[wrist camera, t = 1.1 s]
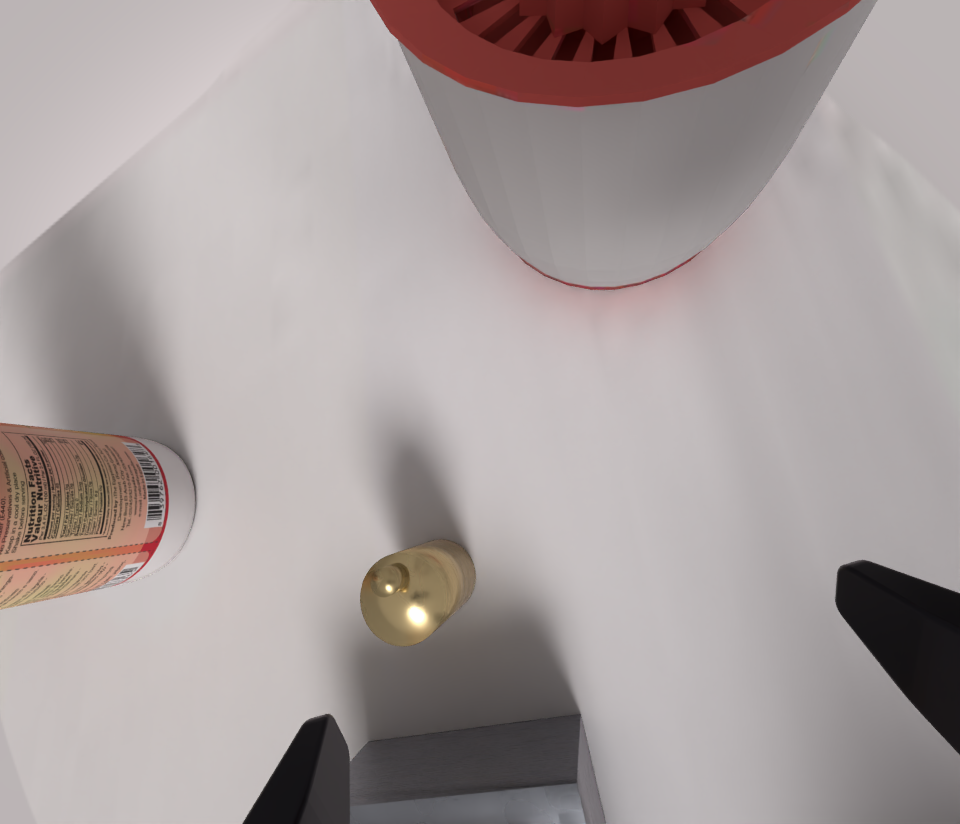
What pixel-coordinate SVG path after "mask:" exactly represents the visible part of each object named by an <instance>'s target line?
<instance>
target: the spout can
mask: <svg viewBox="0 0 960 824" xmlns="http://www.w3.org/2000/svg"><path fill="white" fill-rule="evenodd" d="M475 580H476V574H475V568H474V564H473V562H472V559H471V558H470V556H469V554H468V553H467V552H466V551H465V550H464V548H462V547H461V546H460V545H458V544H457V543H455V542H452V541H449V540H444V539H439V540H433V541H430V542H427V543H424V544H421V545H418V546H415V547H412V548H409V549H406V550H403V551H400V552H397V553H394V554H391V555H388V556H386V557H384V558H382V559H380V560H379V561H378V562H376V563H375V564H374V565H373V566H372V567H371V568H370V570H369V571H368V573H367V574H366V576H365V578H364V581H363V584H362V588H361V594H360V603H361V610H362V614H363V617H364V619H365V621H366V624H367V625H368V627H369V628H370V630H371V631H372V632H373V633H374V634H375V635H376V636H377V637H378V638H380V639H381V640H382V641H384V642H386V643H388V644H391V645H395V646H411V645H415V644H417V643H420V642H421V641H423V640H425V639H426V638H427V637H428V636H430V635H431V634H432V633H433V632H434V631H435V630H436V629H437V628H438V627H440V626H441V625H442V624H443V623H444V622H445V621H446V620H447V619H448V618H449V617H451V616H452V615H453V614H454V613H455V612H456V611H457V610H458V609H459V608H460V607H462V606H463V605H464V604H465V603H466V602H467V601H468V599H469V598H470V596H471V594H472V592H473V590H474V586H475Z"/></svg>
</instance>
